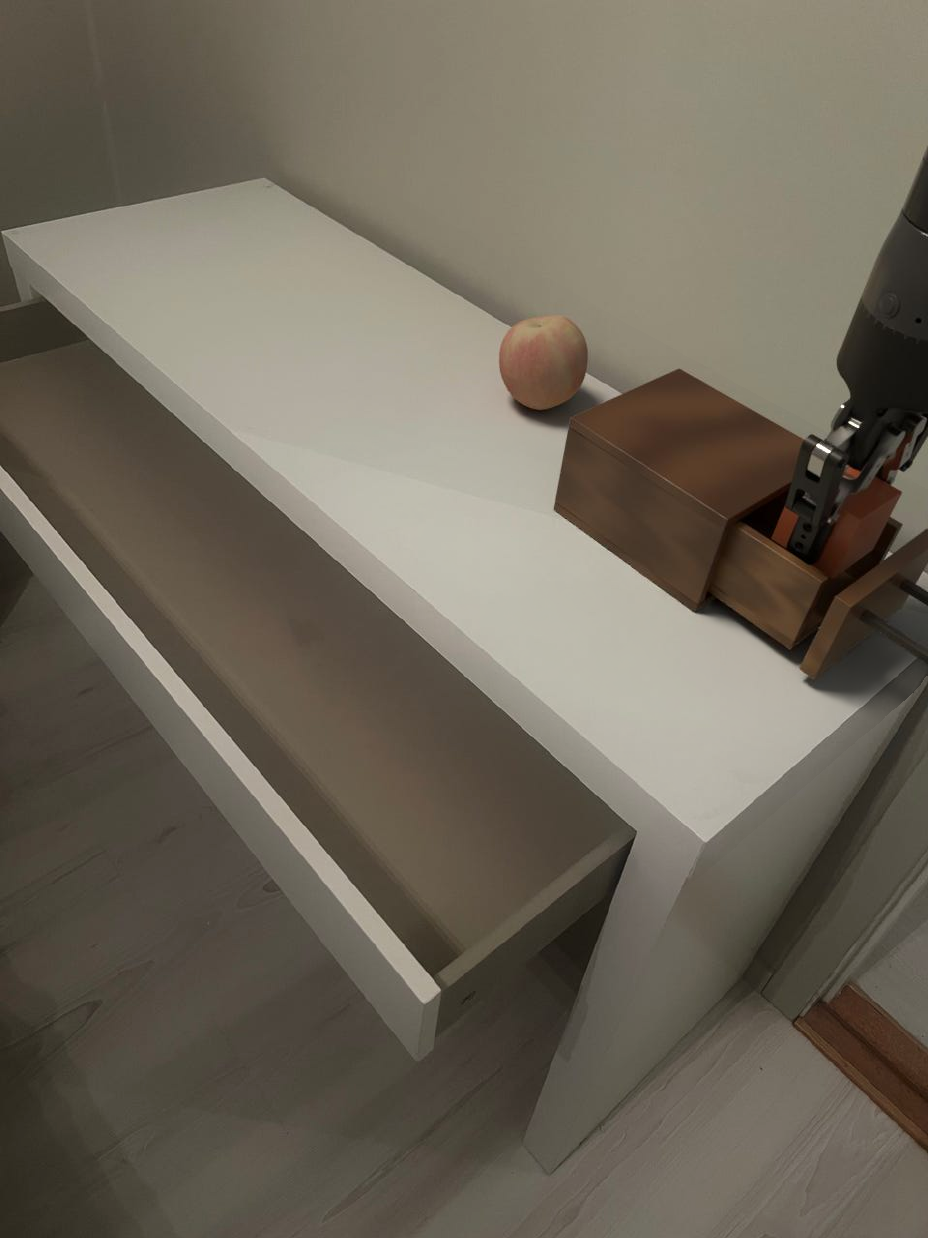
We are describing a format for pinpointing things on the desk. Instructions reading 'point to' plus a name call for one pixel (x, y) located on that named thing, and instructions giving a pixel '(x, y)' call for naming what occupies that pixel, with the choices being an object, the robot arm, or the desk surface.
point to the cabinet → (671, 477)
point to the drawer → (818, 589)
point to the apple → (543, 361)
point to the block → (849, 526)
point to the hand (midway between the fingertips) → (824, 539)
